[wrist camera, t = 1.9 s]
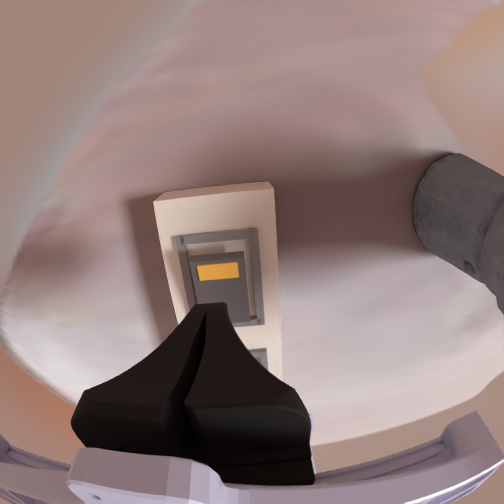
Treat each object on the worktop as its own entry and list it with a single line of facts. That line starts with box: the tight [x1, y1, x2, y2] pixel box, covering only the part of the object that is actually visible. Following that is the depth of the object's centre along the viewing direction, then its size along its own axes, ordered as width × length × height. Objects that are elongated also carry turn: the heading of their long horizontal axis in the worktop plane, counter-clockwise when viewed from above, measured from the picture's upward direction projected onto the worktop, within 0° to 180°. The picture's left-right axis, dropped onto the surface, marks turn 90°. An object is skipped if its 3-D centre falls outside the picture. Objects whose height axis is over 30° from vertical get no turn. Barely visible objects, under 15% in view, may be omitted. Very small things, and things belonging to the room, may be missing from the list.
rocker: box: [189, 251, 251, 323], centre depth 18 cm, size 5×3×1 cm, turn 4°
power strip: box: [153, 181, 283, 381], centre depth 22 cm, size 20×7×3 cm, turn 5°
